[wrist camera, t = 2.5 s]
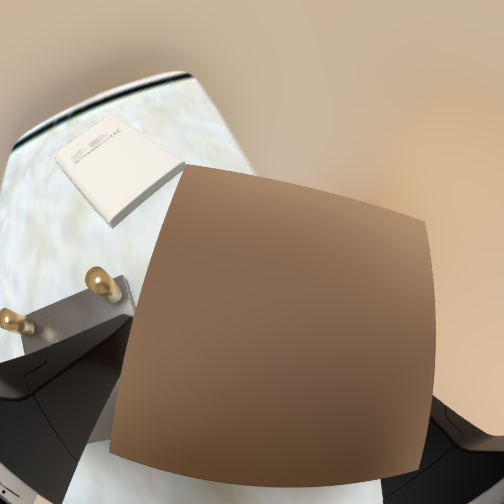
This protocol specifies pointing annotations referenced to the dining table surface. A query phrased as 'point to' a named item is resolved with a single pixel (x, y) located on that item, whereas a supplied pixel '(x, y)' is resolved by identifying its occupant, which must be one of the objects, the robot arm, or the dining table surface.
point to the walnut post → (279, 338)
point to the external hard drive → (117, 167)
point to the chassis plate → (76, 325)
